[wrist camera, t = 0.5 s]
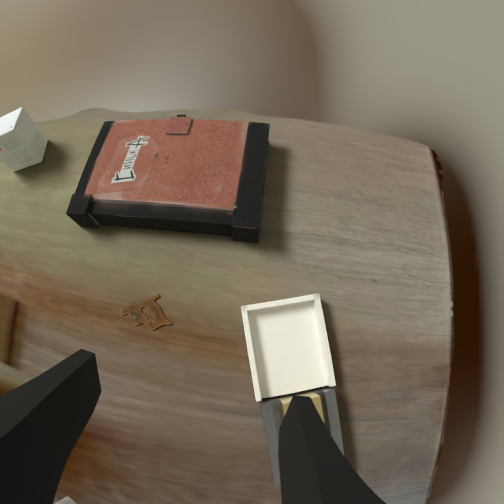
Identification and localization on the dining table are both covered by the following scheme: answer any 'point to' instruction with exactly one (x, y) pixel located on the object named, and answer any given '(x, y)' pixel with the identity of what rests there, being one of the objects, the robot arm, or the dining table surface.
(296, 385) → the tray
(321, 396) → the rail
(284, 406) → the brass chip
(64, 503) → the ink box
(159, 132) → the book
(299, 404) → the robot arm
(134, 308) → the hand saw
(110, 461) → the dining table surface
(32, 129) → the small box
